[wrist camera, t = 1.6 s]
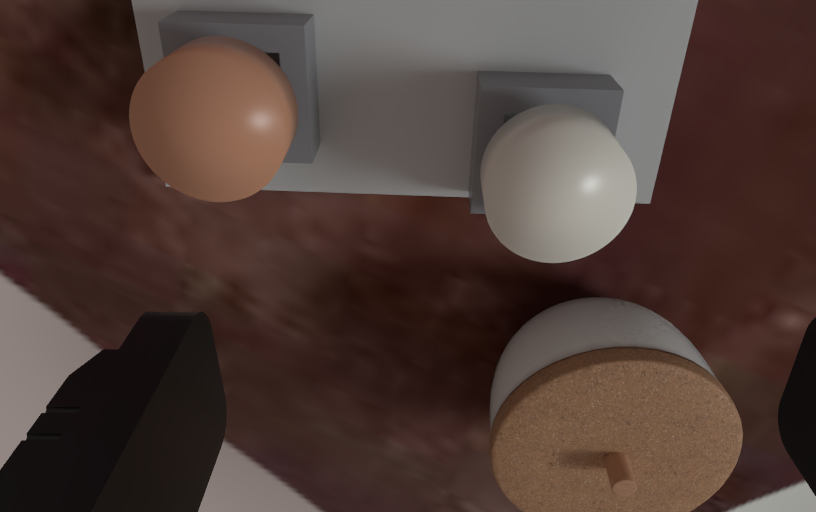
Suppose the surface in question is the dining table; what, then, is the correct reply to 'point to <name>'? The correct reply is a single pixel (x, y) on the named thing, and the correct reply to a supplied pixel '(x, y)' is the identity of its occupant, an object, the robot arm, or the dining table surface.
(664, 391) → the lidded jar
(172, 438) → the robot arm
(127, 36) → the dining table surface
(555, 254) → the ivory button
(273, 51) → the panel
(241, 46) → the rust button
